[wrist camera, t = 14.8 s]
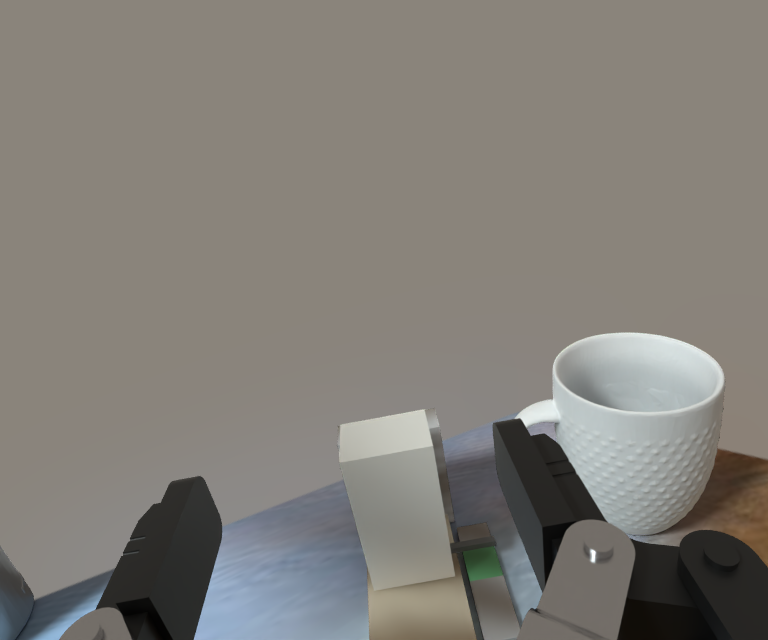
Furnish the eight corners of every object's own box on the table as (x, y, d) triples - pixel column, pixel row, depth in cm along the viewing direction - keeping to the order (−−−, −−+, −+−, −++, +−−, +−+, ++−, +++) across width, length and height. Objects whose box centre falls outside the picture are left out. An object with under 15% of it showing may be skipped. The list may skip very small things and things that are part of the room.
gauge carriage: (502, 568, 36) (488, 435, 31) (374, 590, 36) (338, 462, 31) (488, 524, 39) (473, 400, 34) (372, 545, 40) (340, 424, 35)
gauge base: (528, 655, 31) (518, 544, 27) (365, 684, 32) (331, 577, 27) (477, 495, 44) (464, 402, 40) (361, 515, 44) (337, 425, 40)
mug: (526, 571, 37) (514, 430, 31) (501, 468, 47) (489, 347, 41) (740, 554, 35) (766, 402, 30) (667, 451, 45) (676, 323, 39)
